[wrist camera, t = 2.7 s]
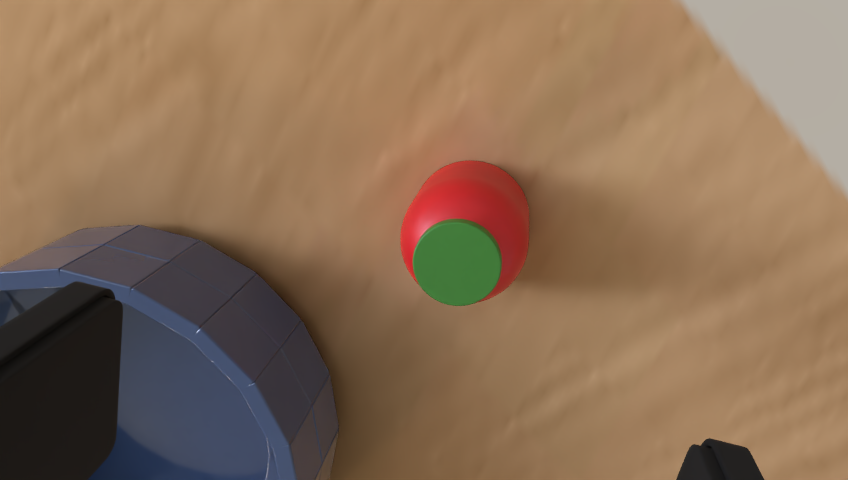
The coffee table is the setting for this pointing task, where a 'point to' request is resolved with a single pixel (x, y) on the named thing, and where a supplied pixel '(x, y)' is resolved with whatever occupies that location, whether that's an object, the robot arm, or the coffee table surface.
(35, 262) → the bowl
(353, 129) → the coffee table surface
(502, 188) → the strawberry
